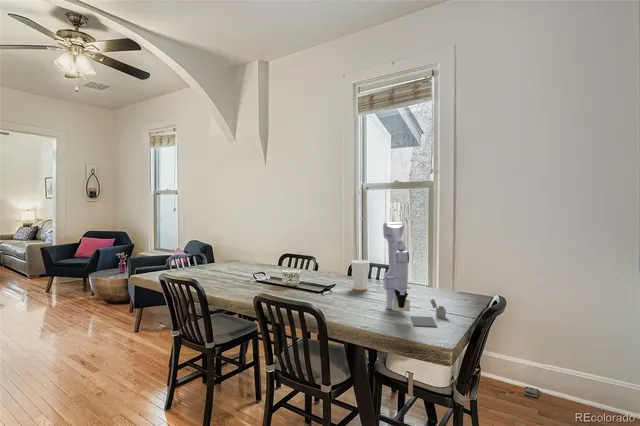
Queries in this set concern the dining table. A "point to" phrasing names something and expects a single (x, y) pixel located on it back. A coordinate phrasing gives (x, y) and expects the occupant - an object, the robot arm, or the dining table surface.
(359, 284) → the cup
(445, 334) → the dining table surface
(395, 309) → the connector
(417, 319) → the mat
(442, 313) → the lighter
